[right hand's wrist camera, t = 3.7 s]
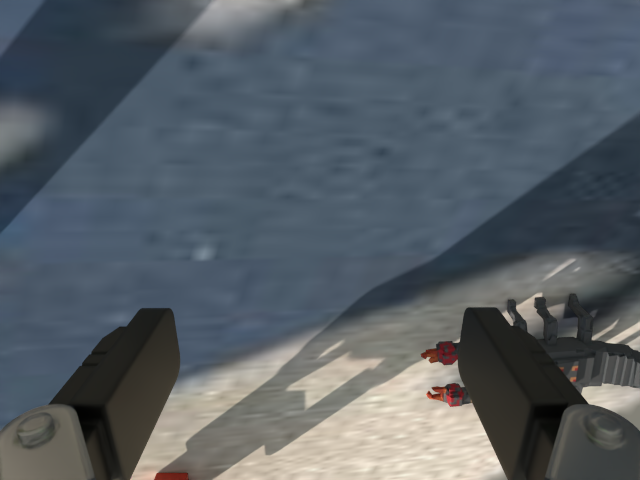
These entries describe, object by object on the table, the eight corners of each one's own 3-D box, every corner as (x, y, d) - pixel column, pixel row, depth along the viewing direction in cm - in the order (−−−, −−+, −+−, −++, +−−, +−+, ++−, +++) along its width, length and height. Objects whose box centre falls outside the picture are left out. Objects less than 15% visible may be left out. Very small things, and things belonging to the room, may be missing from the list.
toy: (637, 384, 50) (801, 544, 33) (415, 402, 51) (463, 566, 34) (660, 286, 45) (866, 415, 28) (413, 308, 46) (467, 446, 29)
